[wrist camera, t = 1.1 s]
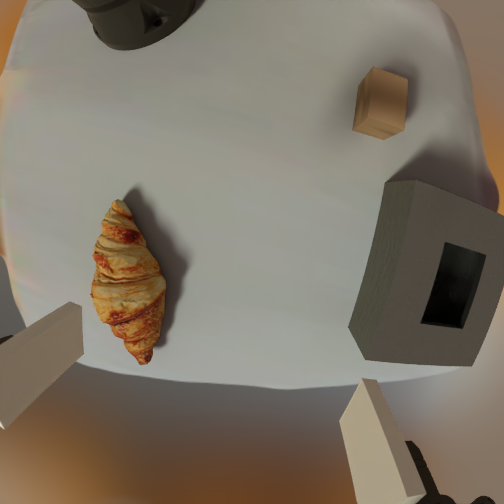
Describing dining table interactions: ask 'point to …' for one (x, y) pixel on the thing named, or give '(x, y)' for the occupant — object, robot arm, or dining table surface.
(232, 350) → the dining table surface
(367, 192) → the dining table surface
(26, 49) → the dining table surface
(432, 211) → the box
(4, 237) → the dining table surface
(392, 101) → the brown block
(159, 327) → the croissant
